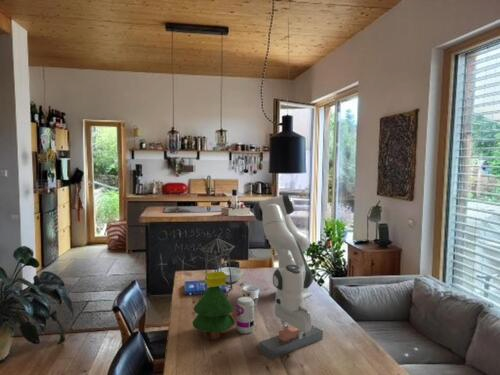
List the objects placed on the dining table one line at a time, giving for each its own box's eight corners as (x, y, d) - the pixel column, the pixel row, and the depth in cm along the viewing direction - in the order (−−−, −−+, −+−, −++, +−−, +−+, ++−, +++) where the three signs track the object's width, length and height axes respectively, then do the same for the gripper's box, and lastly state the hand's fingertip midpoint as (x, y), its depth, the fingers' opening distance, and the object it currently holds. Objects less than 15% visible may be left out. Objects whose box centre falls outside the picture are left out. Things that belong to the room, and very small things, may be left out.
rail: (309, 332, 174) (310, 324, 173) (322, 339, 167) (322, 330, 167) (259, 351, 156) (259, 342, 156) (270, 359, 150) (271, 350, 149)
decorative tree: (188, 329, 175) (188, 267, 172) (226, 323, 182) (227, 263, 180) (198, 349, 157) (198, 280, 155) (240, 341, 164) (240, 275, 162)
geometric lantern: (221, 304, 205) (220, 242, 202) (199, 299, 213) (198, 239, 210) (237, 295, 218) (236, 237, 215) (216, 290, 227) (214, 234, 224)
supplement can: (241, 335, 170) (241, 304, 168) (233, 328, 177) (234, 297, 176) (256, 331, 173) (257, 301, 172) (248, 324, 181) (249, 295, 179)
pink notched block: (299, 339, 167) (299, 324, 166) (304, 342, 164) (304, 327, 163) (278, 347, 160) (278, 331, 159) (283, 350, 157) (284, 334, 156)
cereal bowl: (241, 285, 236) (241, 274, 235) (215, 285, 236) (215, 274, 235) (242, 277, 252) (242, 266, 252) (218, 276, 253) (218, 266, 252)
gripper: (315, 309, 153) (314, 341, 155) (283, 294, 170) (282, 323, 171) (304, 313, 150) (303, 345, 151) (272, 297, 166) (272, 326, 168)
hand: (292, 333), depth 161 cm, fingers open, 8 cm apart
